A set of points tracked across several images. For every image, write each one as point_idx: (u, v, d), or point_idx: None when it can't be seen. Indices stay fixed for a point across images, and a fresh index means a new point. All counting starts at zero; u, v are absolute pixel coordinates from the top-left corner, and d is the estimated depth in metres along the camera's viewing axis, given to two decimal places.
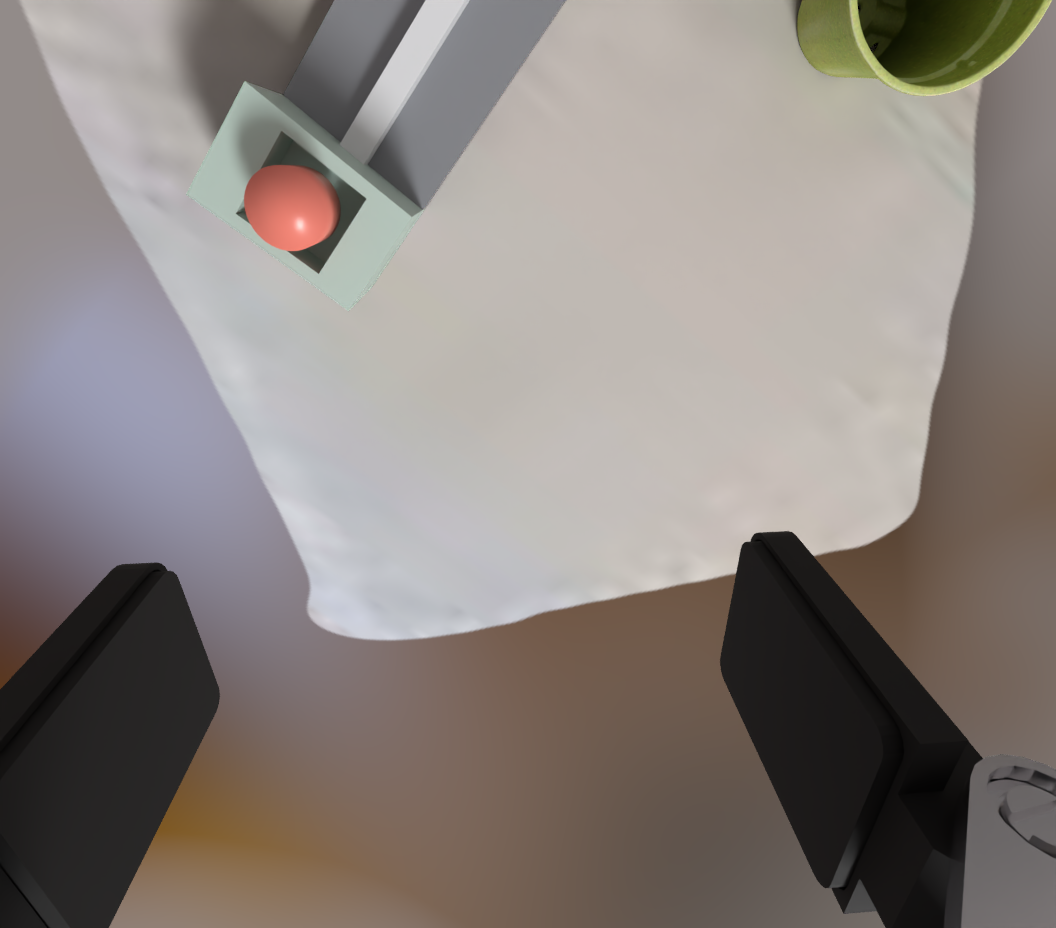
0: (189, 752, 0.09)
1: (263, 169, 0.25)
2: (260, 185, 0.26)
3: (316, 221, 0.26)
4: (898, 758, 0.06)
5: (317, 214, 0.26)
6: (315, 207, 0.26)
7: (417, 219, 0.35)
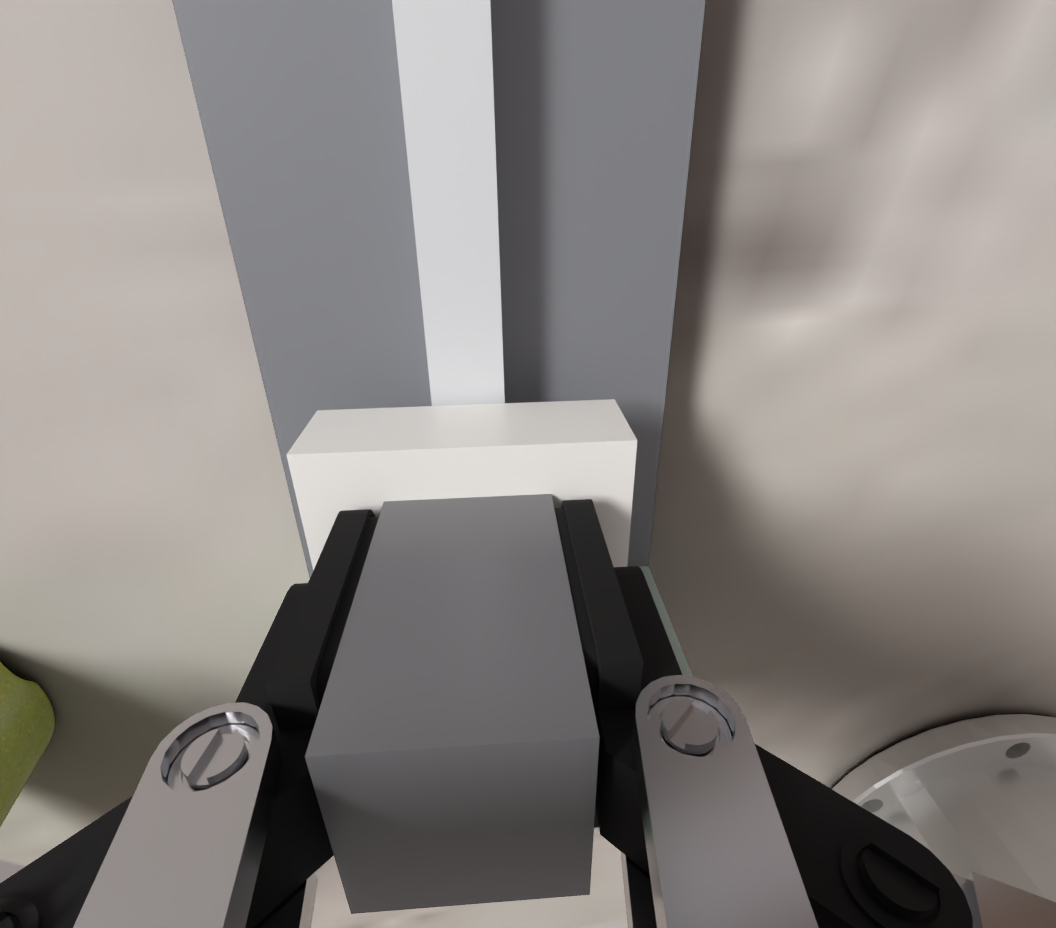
0: None
1: None
2: None
3: None
4: (594, 679, 0.07)
5: None
6: None
7: None
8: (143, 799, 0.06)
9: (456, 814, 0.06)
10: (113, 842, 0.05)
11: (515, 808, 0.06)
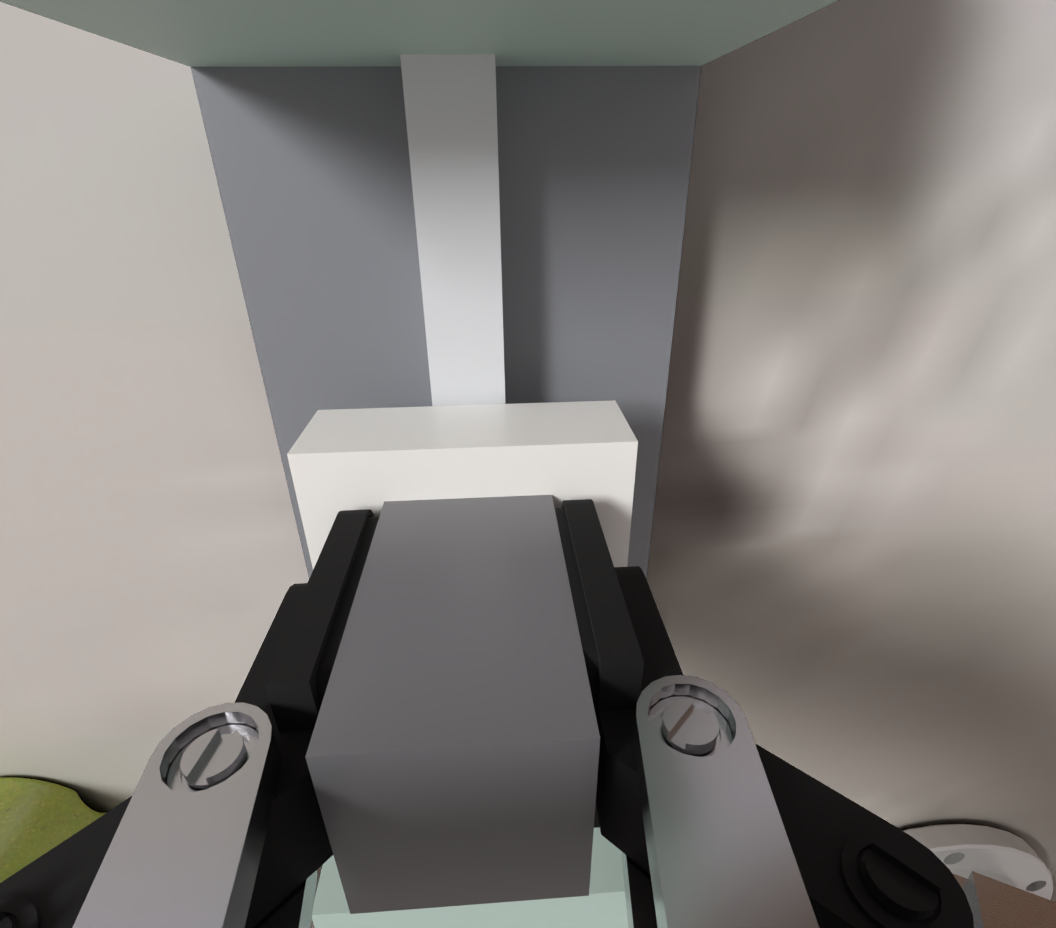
0: None
1: None
2: None
3: None
4: (595, 679, 0.07)
5: None
6: None
7: None
8: (143, 799, 0.06)
9: (456, 815, 0.06)
10: (113, 843, 0.05)
11: (515, 809, 0.06)
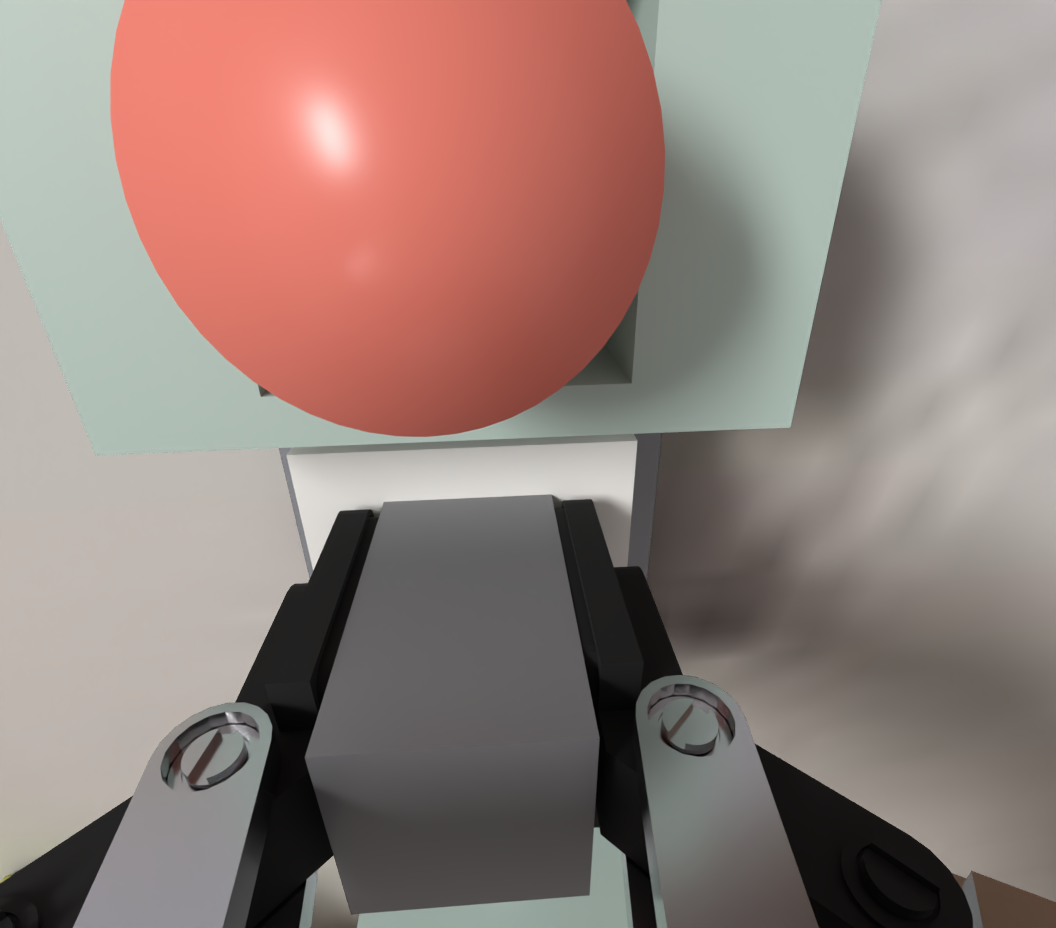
0: None
1: (617, 312, 0.04)
2: (594, 220, 0.04)
3: (213, 266, 0.04)
4: (594, 679, 0.07)
5: (241, 307, 0.04)
6: (278, 333, 0.04)
7: None
8: (143, 799, 0.06)
9: (455, 817, 0.06)
10: (113, 843, 0.05)
11: (515, 809, 0.06)
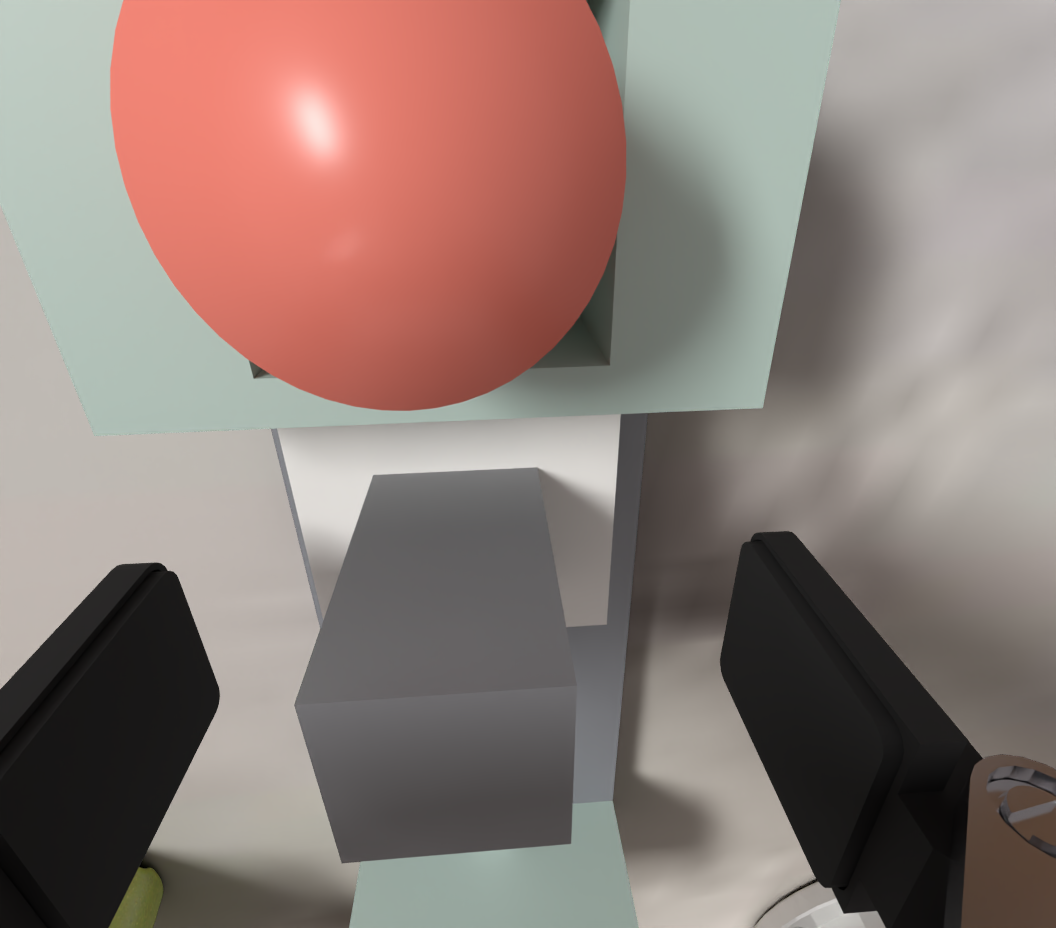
0: (189, 752, 0.09)
1: (585, 293, 0.05)
2: (561, 206, 0.04)
3: (207, 248, 0.04)
4: (898, 758, 0.06)
5: (234, 287, 0.04)
6: (268, 312, 0.05)
7: None
8: None
9: (441, 764, 0.07)
10: None
11: (497, 757, 0.07)
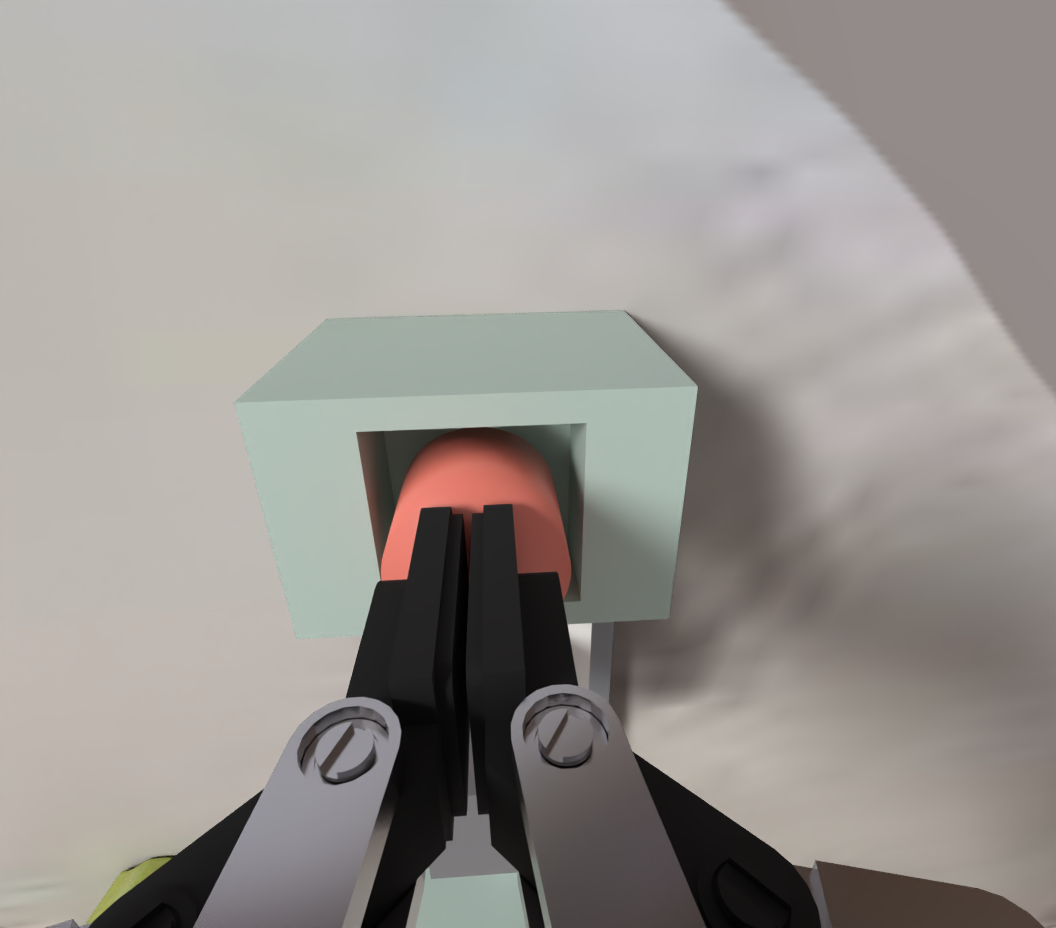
0: None
1: None
2: None
3: None
4: (480, 689, 0.07)
5: None
6: None
7: None
8: (279, 781, 0.06)
9: (488, 827, 0.13)
10: (250, 820, 0.05)
11: None
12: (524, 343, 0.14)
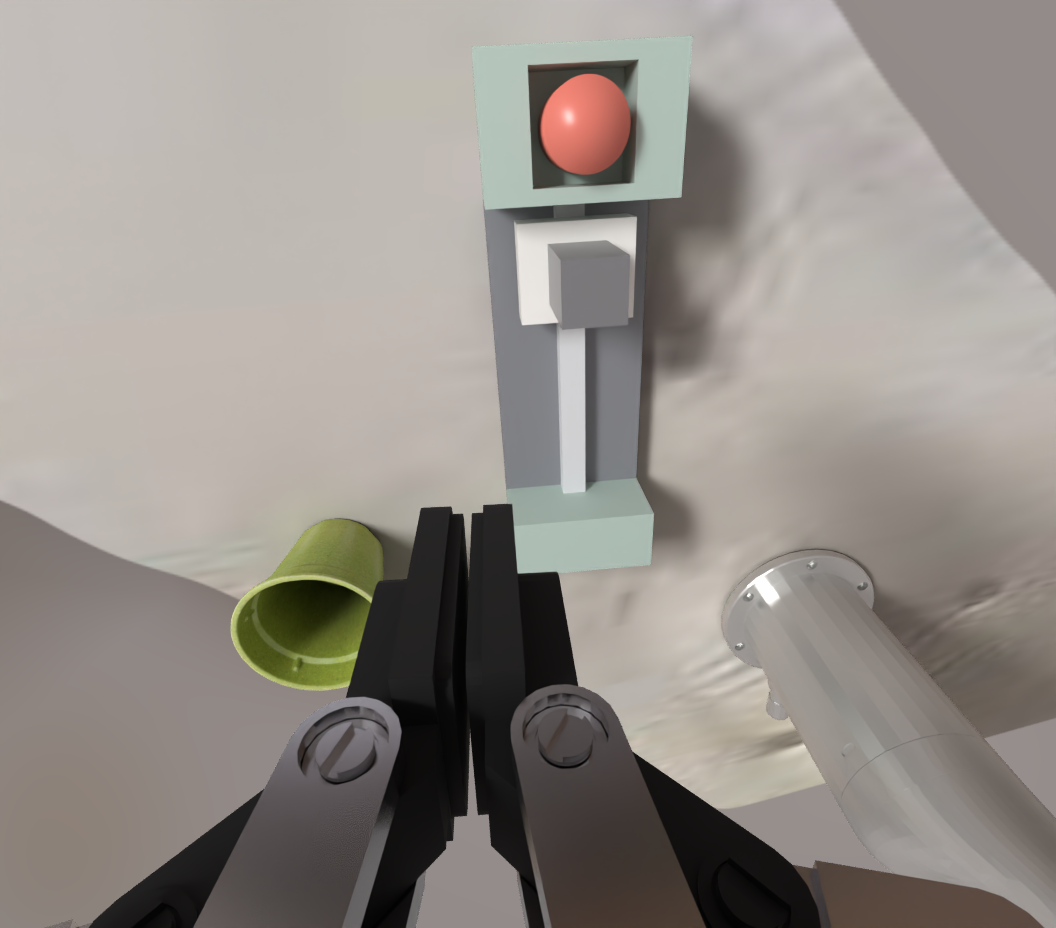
0: None
1: (623, 147, 0.24)
2: (619, 129, 0.24)
3: (555, 139, 0.24)
4: (480, 689, 0.07)
5: (558, 147, 0.24)
6: (564, 152, 0.24)
7: None
8: (280, 781, 0.06)
9: (593, 285, 0.25)
10: (250, 820, 0.05)
11: (609, 283, 0.25)
12: None
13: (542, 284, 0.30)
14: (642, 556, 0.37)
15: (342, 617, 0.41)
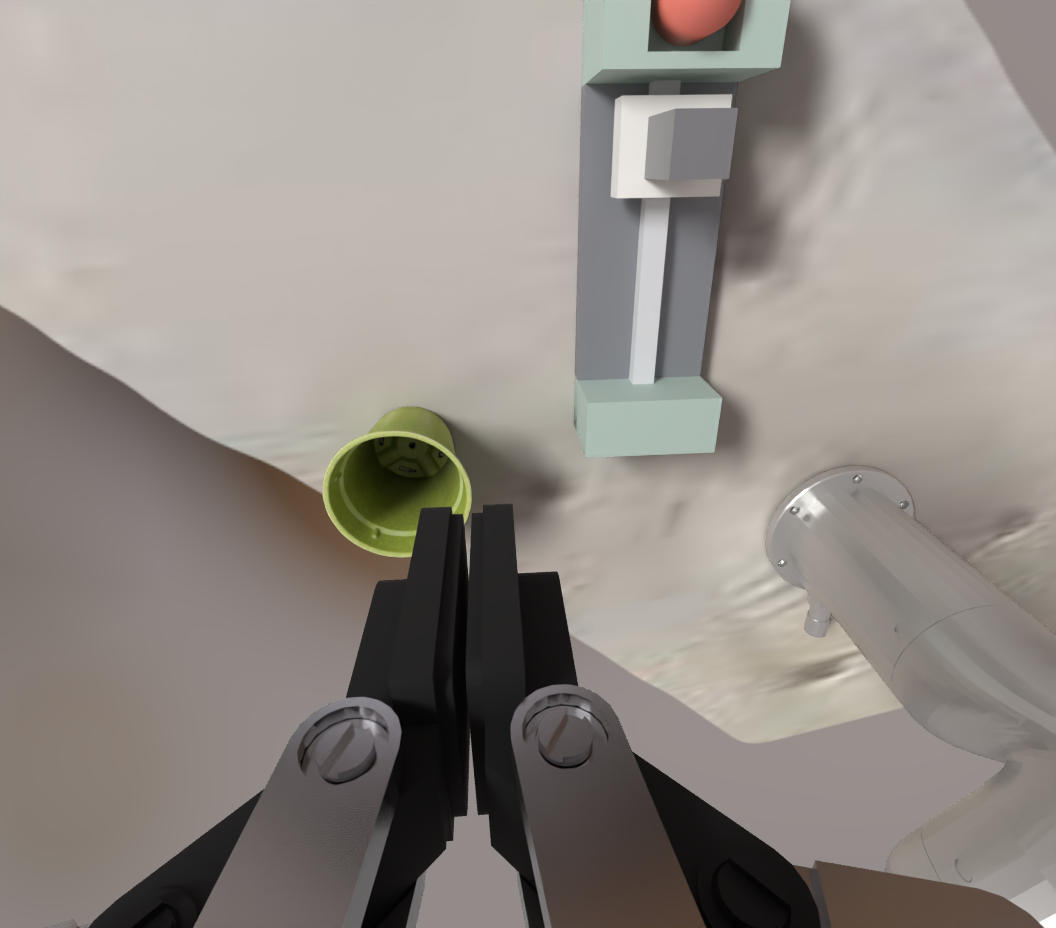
0: None
1: (736, 9, 0.27)
2: None
3: None
4: (480, 689, 0.07)
5: (678, 5, 0.27)
6: (682, 11, 0.27)
7: (582, 70, 0.34)
8: (280, 781, 0.06)
9: (702, 136, 0.27)
10: (250, 820, 0.05)
11: (716, 134, 0.27)
12: None
13: (639, 157, 0.32)
14: (707, 443, 0.39)
15: (413, 501, 0.43)
